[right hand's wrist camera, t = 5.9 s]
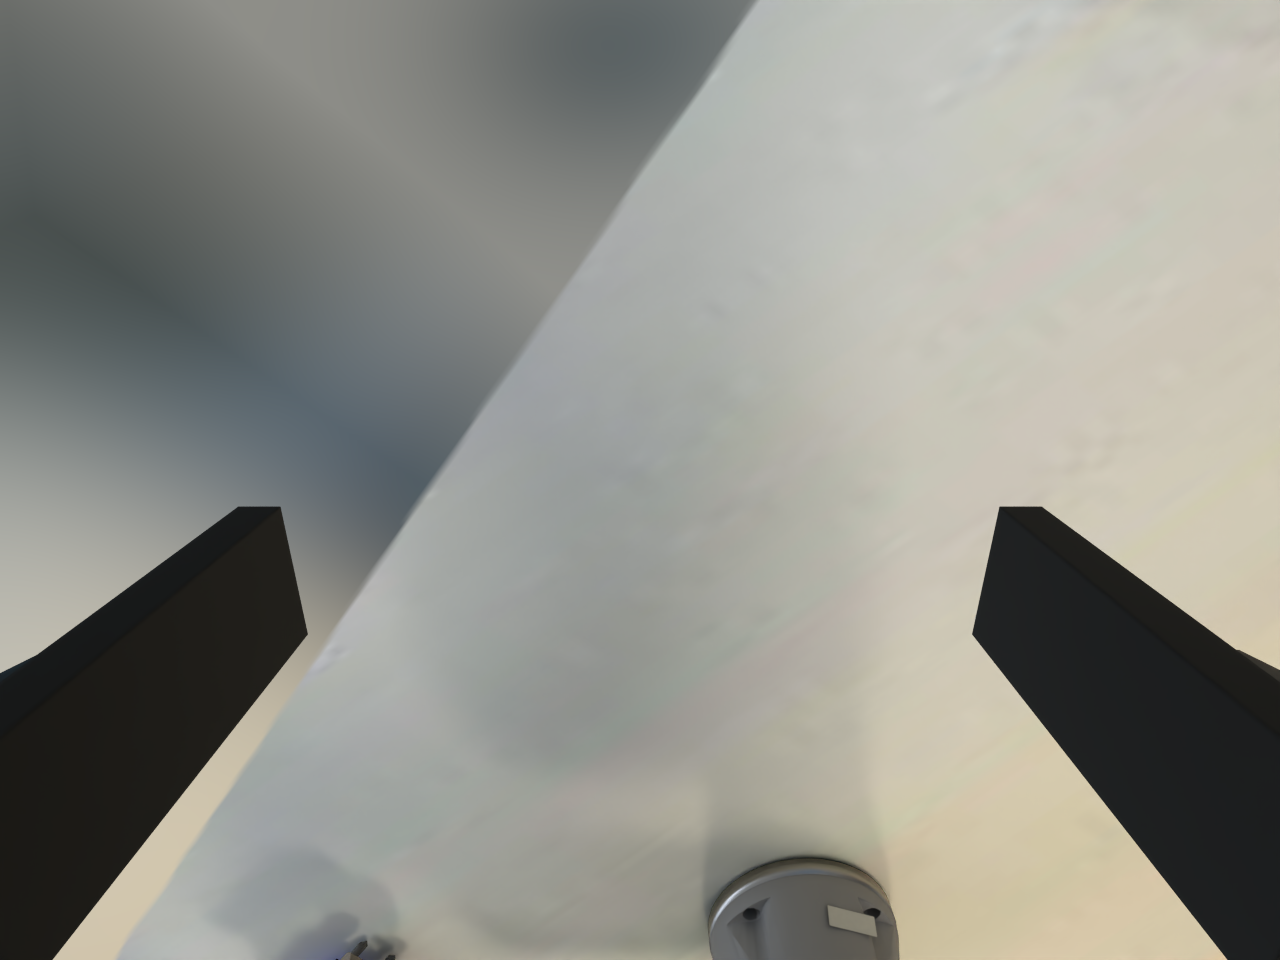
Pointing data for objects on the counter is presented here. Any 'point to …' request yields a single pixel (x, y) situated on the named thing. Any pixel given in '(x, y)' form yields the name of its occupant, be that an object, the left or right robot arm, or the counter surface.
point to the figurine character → (353, 958)
